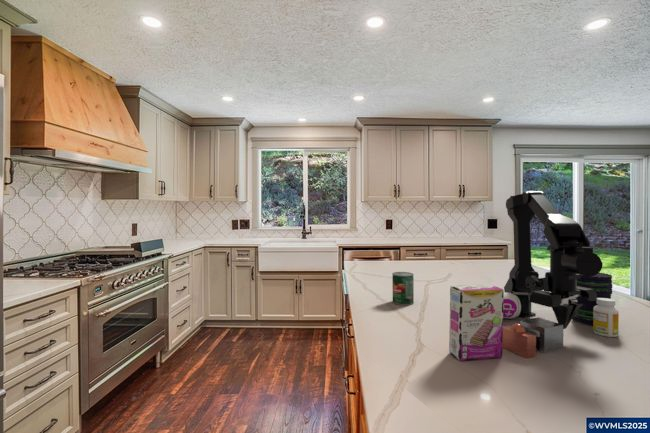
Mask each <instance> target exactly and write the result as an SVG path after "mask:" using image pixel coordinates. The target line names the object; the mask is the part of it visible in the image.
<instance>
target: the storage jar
mask: <svg viewBox="0 0 650 433" xmlns="http://www.w3.org/2000/svg"><path fill="white" fill-rule="evenodd" d="M612 279H613V275H612V274H609V273H605V272H604V273H603V272H599V273H598V274H597V275H595V276H591V277H588V276H584V275H581V278H579V279H577V286H579V287H584V288H589V289H593V290H594V291H595V292H596V293H597V298H608V299H612V295H613V280H612ZM576 299H577V302H579V303H583V306H581V307H580V308H579V310H578V311H577V312H576V314H575V315H574V317H573V318H572V320H573V322H575V323H579V324H581V325H586V326H591V327H593V308H594V306H596V305H598V304H597V300H595V301H588V299H587V298H583V297H577V298H576ZM572 320H571V321H572Z"/></svg>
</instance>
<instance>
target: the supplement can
mask: <svg viewBox="0 0 650 433" xmlns="http://www.w3.org/2000/svg"><path fill="white" fill-rule="evenodd" d="M520 311H521V303H520V300H519V298H518V297H517V296H516V295H513V294H512V293H507V292H504V295H503V319H510V320H511V319H514V318H517V317H520V316H519V314H520Z"/></svg>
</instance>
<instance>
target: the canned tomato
mask: <svg viewBox="0 0 650 433" xmlns="http://www.w3.org/2000/svg"><path fill="white" fill-rule="evenodd" d="M414 275H415V274H414V273H412V272H410V271H409V272H407V271H394V272H392V278H391V279H392V287H391V288H392V303H393V304H394V305H398V306H399V305H400V306H412V305H414V294H415V293H414V291H415V290H414V284H415V283H414V282H415V281H414Z"/></svg>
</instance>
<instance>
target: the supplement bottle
mask: <svg viewBox="0 0 650 433" xmlns="http://www.w3.org/2000/svg"><path fill="white" fill-rule="evenodd" d="M597 304H598V305H596V306H594V308H593V326H592V327H593V329H592V330H593V333H595V334H597V335H599V336H602V337H609V338H616V337H619V318H620V317H619V314H620V313H619V310H618V308H617V307H615V306H616V300H615V299H613V298H611V299H608V298H597Z"/></svg>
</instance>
